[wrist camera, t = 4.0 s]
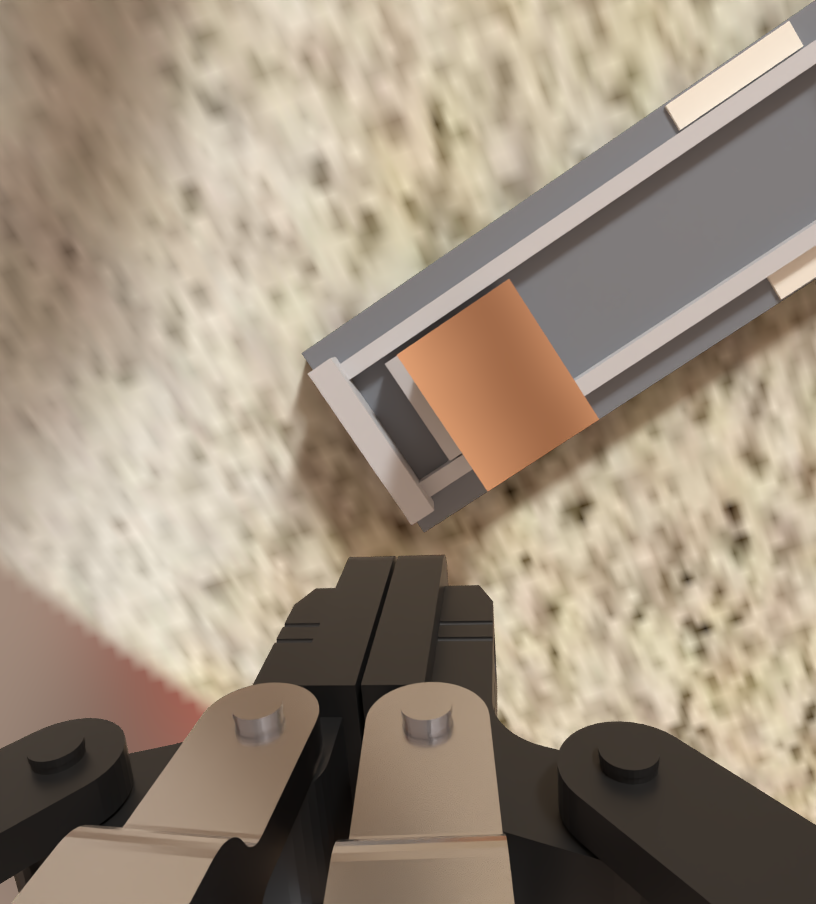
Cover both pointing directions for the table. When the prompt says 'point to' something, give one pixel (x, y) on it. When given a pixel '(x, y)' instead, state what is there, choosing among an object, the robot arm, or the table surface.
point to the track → (611, 261)
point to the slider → (492, 387)
